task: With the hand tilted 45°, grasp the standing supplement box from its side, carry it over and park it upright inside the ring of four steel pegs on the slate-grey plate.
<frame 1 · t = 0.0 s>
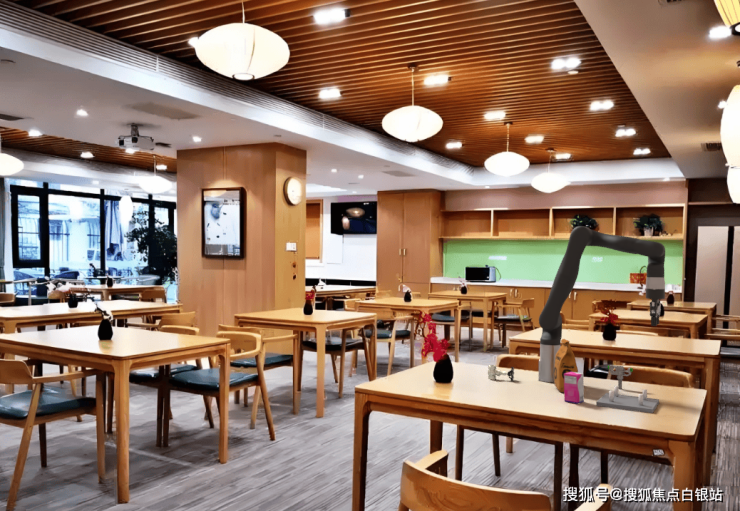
hand: (655, 325, 257), 29 cm above the table, tool pointing down, fingers open, 8 cm apart
valve: (500, 380, 281), on the table
coffee package: (566, 391, 259), on the table
supplement box: (573, 402, 238), on the table
peg cradle: (628, 404, 235), on the table
mechanical component: (619, 389, 264), on the table
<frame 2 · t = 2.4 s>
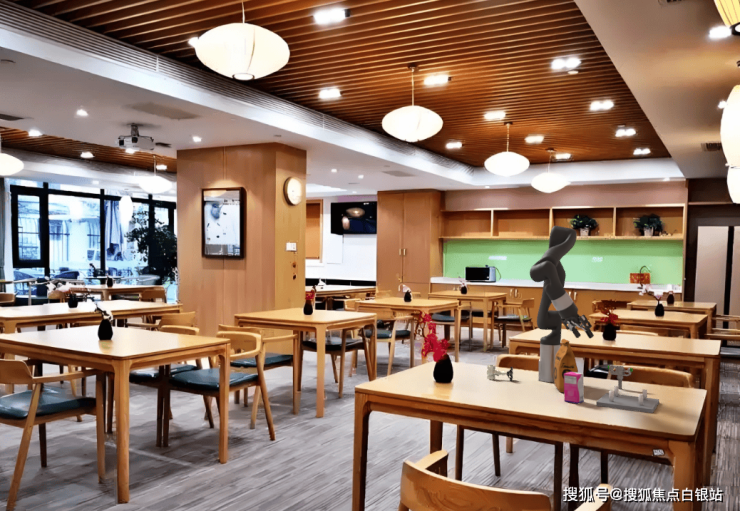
hand: (585, 337, 244), 25 cm above the table, tool tilted 35°, fingers open, 8 cm apart
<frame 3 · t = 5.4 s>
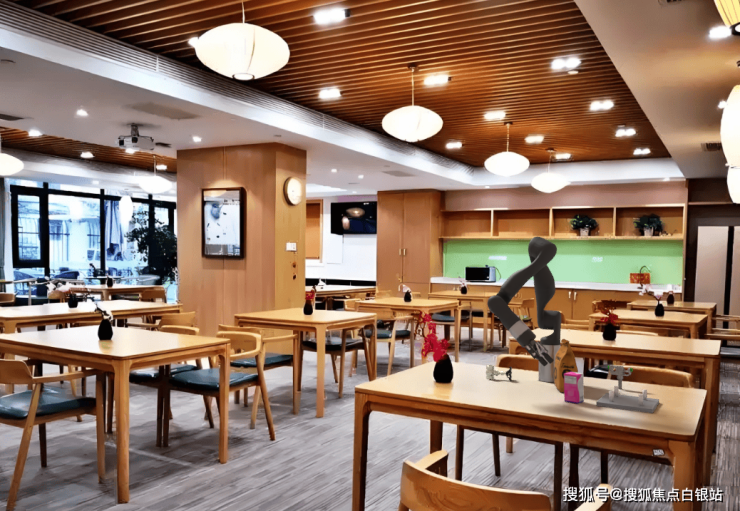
hand: (549, 363, 243), 14 cm above the table, tool tilted 45°, fingers open, 8 cm apart
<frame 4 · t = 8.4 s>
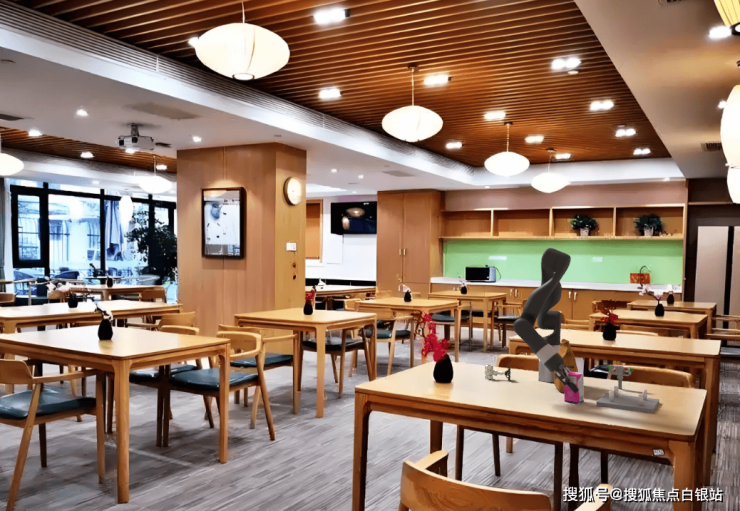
hand: (579, 390, 237), 5 cm above the table, tool tilted 45°, fingers closed on supplement box, 6 cm apart
supplement box: (573, 402, 238), on the table, touching gripper
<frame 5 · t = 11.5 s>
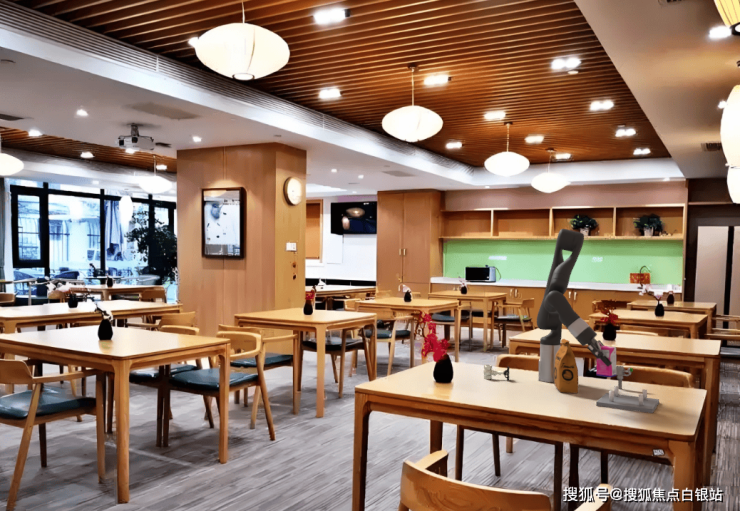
hand: (611, 363, 235), 16 cm above the table, tool tilted 45°, fingers closed on supplement box, 6 cm apart
supplement box: (606, 376, 236), point 11 cm above the table, touching gripper
when the fingers open (8 cm above the table, at t = 14.8 s): supplement box drops 1 cm, resting on peg cradle.
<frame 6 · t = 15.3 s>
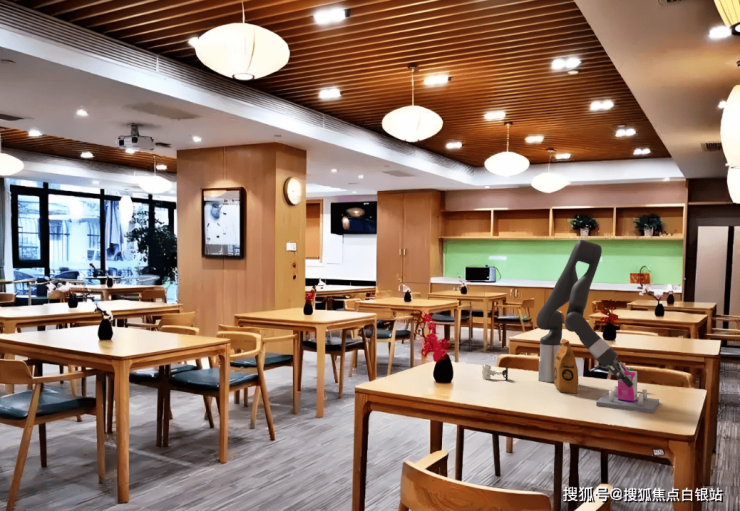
hand: (633, 384, 234), 8 cm above the table, tool tilted 45°, fingers open, 8 cm apart
supplement box: (627, 400, 235), point 1 cm above the table, touching peg cradle
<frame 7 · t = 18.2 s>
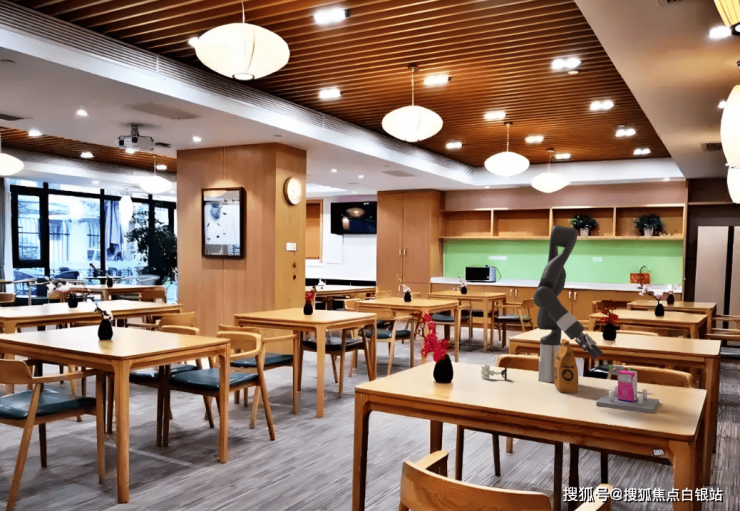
hand: (599, 356, 241), 18 cm above the table, tool tilted 45°, fingers open, 8 cm apart
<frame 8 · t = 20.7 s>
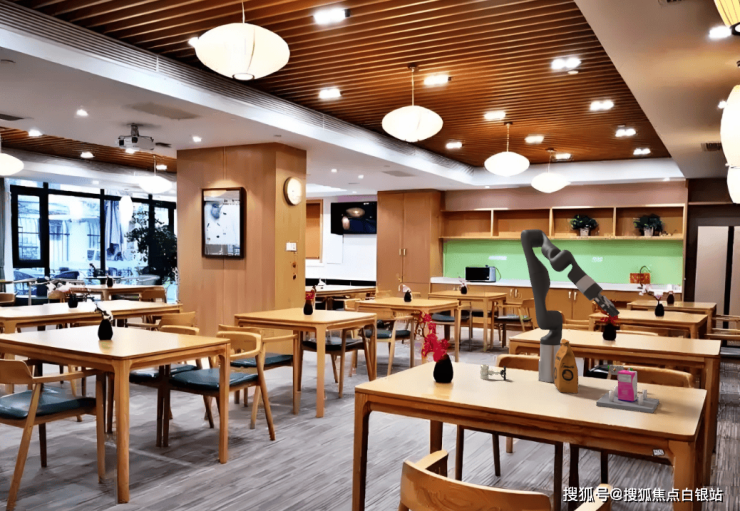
hand: (616, 315, 254), 34 cm above the table, tool tilted 45°, fingers open, 8 cm apart
at the end: supplement box 0.4 cm off-centre on the peg cradle, point 1.3 cm above the peg cradle's base; supplement box tilted 0°; the gripper is holding nothing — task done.
